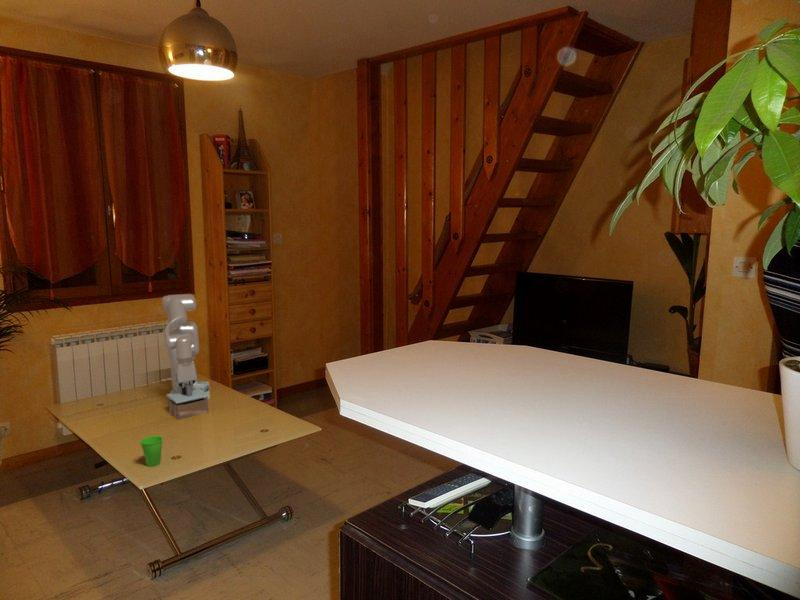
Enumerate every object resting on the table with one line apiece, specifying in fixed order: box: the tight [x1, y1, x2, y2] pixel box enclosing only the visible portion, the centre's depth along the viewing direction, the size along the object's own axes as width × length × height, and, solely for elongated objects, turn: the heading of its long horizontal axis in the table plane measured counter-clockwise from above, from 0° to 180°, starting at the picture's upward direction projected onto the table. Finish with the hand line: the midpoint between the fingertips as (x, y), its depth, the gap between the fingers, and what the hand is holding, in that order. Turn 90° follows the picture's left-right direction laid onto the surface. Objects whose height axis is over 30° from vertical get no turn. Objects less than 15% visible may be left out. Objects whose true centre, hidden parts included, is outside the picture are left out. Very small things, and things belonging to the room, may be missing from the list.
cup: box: [139, 435, 164, 468], centre depth 233 cm, size 9×9×11 cm
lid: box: [166, 383, 209, 404], centre depth 292 cm, size 15×17×7 cm
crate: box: [167, 398, 210, 421], centre depth 293 cm, size 14×16×8 cm
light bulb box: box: [192, 381, 211, 401], centre depth 314 cm, size 11×7×11 cm, turn 84°
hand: (187, 393), depth 292 cm, fingers closed on lid, 2 cm apart
